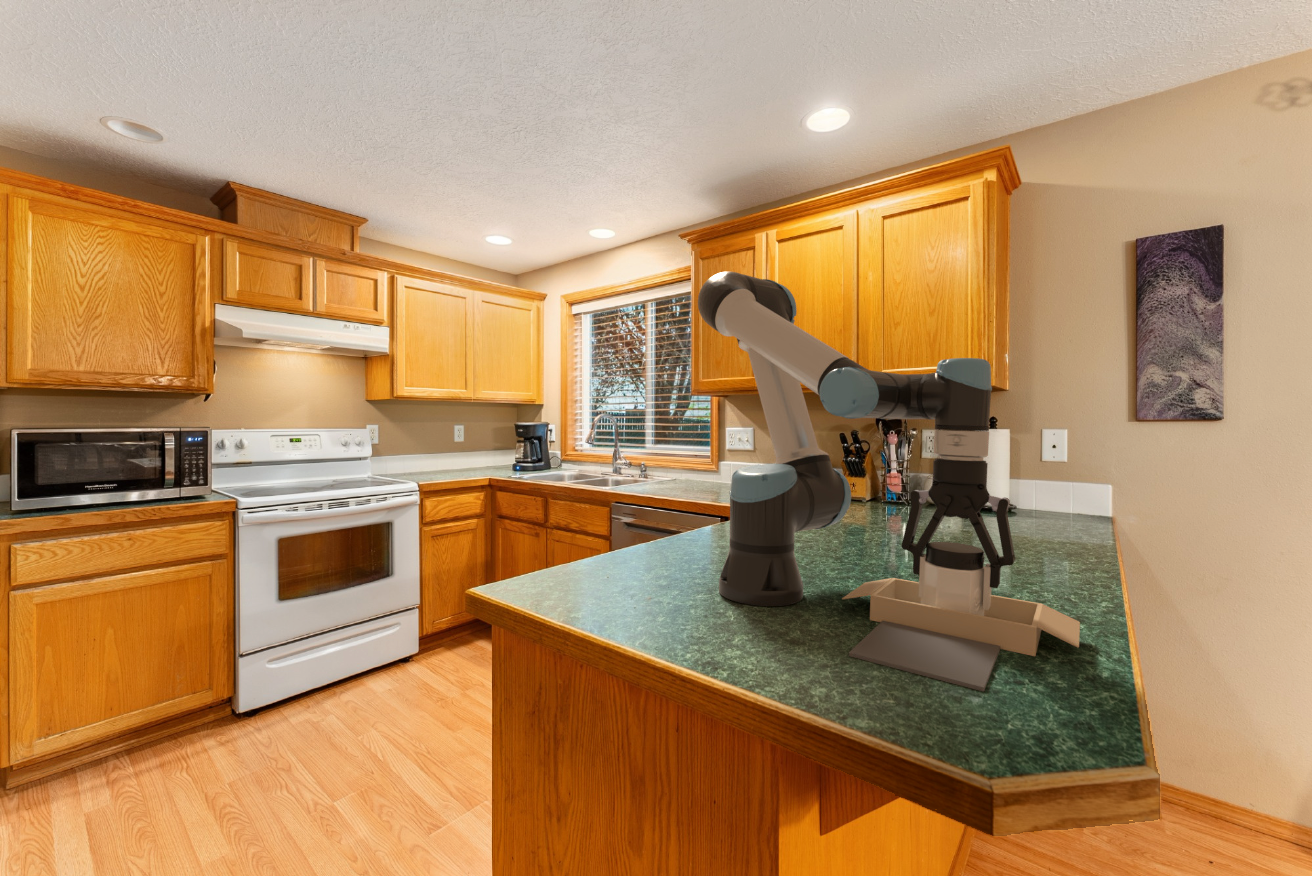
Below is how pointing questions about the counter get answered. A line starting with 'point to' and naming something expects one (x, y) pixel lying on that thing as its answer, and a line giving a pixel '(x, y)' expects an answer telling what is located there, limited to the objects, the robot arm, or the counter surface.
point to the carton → (969, 617)
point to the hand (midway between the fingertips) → (953, 601)
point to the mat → (929, 654)
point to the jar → (954, 577)
